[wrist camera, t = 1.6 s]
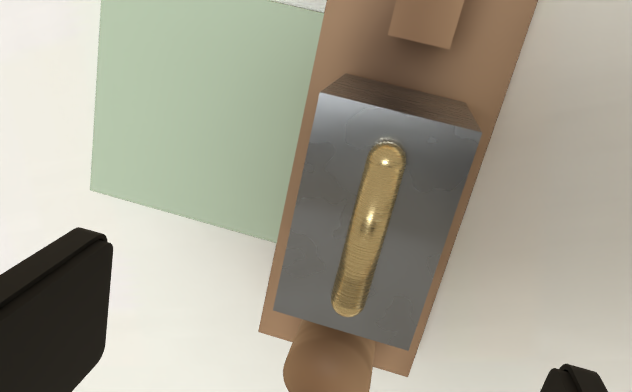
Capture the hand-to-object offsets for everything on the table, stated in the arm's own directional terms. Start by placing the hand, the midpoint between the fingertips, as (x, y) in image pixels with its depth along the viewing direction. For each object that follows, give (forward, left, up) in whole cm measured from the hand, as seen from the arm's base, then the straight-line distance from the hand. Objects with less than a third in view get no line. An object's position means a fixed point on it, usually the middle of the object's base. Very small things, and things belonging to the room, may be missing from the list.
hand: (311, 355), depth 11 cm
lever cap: (-1, 0, -13) cm, 13 cm away
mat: (+9, 0, -16) cm, 19 cm away
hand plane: (-1, 0, -16) cm, 16 cm away
